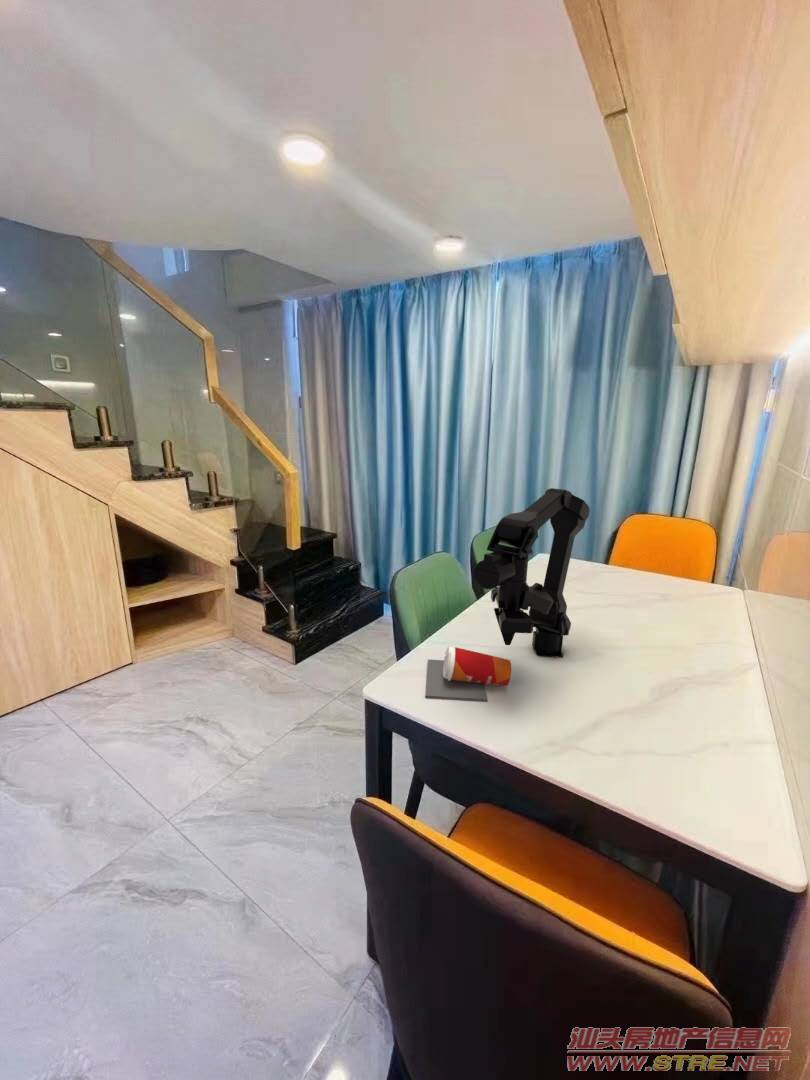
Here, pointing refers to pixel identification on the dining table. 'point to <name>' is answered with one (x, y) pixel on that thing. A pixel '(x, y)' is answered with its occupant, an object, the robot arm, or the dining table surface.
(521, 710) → the dining table surface
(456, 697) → the mat
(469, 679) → the paper cup
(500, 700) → the dining table surface
